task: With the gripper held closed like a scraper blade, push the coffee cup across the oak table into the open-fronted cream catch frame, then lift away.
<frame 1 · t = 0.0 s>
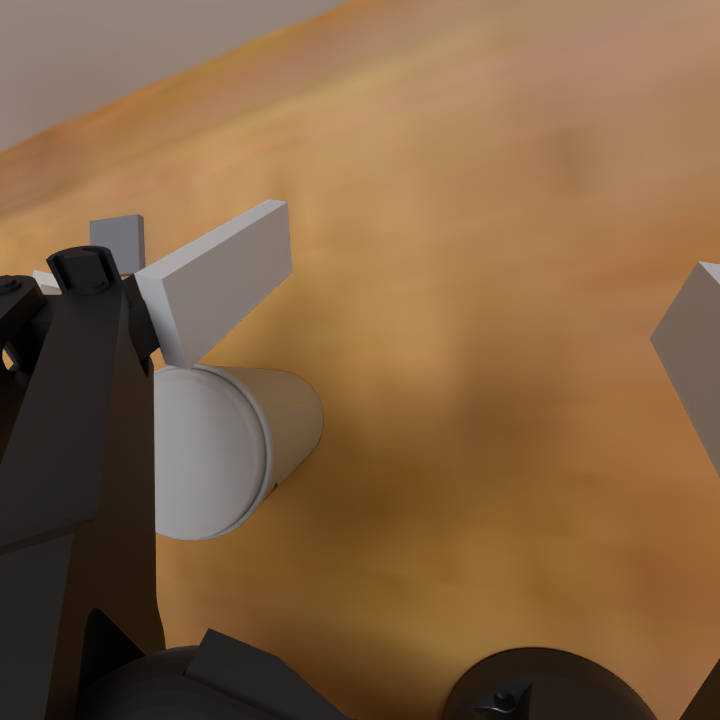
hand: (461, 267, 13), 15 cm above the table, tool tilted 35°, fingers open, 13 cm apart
slate tile: (125, 250, 35), on the table
coffee cup: (280, 417, 31), on the table
catch frame: (126, 375, 34), on the table
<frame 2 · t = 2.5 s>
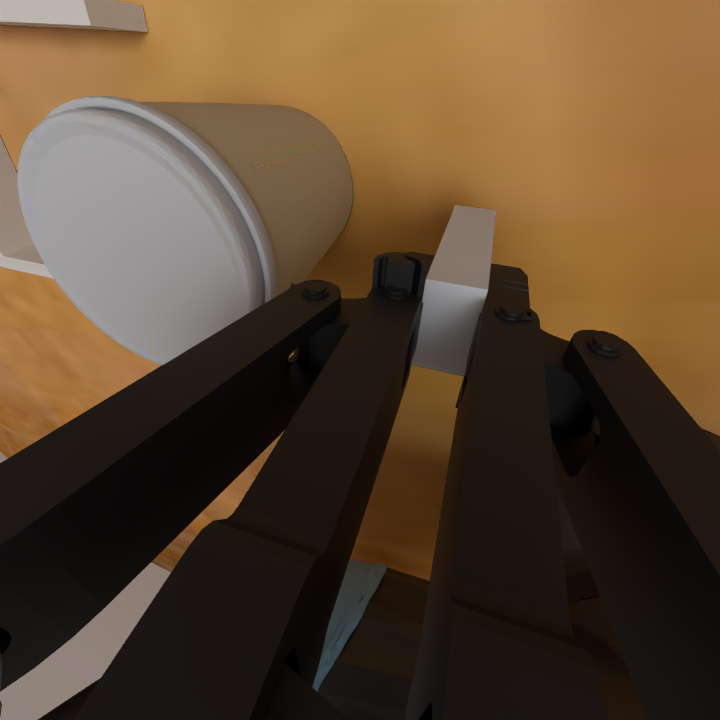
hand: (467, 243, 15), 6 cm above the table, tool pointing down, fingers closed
coffee cup: (292, 185, 22), on the table
catch frame: (80, 157, 25), on the table
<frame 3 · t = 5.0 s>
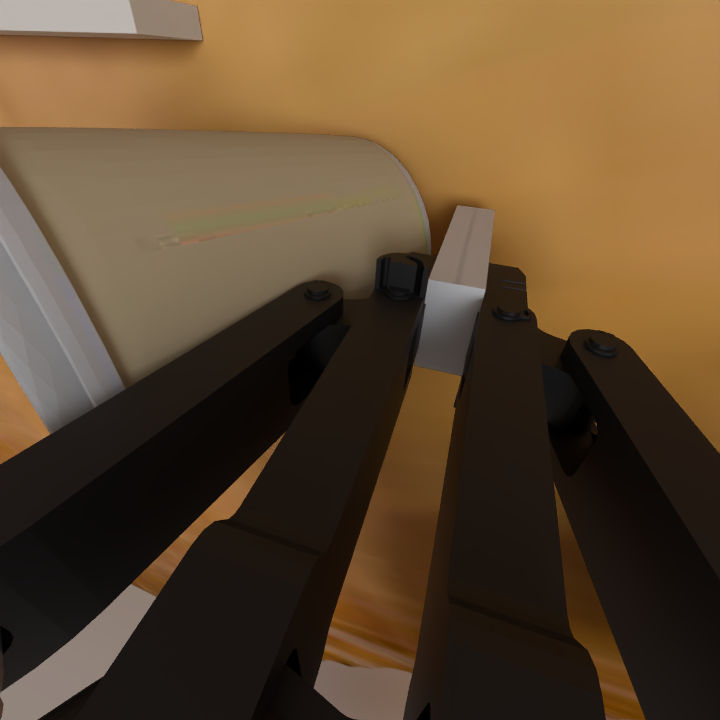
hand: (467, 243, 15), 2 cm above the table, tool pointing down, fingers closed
coffee cup: (360, 239, 16), point 1 cm above the table, touching gripper, hand
catch frame: (108, 193, 21), on the table
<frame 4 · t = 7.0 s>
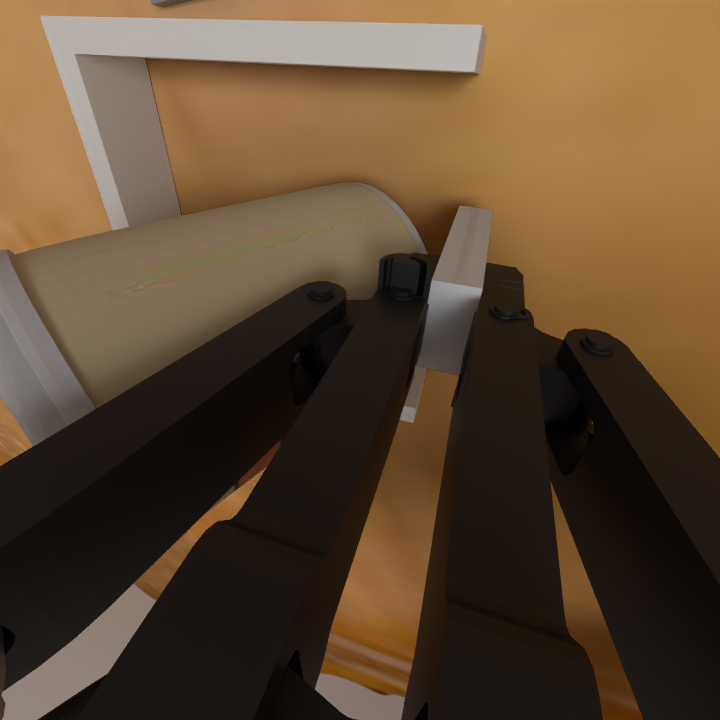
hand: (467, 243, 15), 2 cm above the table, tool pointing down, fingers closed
coffee cup: (372, 273, 17), point 2 cm above the table, touching gripper
catch frame: (294, 231, 19), on the table
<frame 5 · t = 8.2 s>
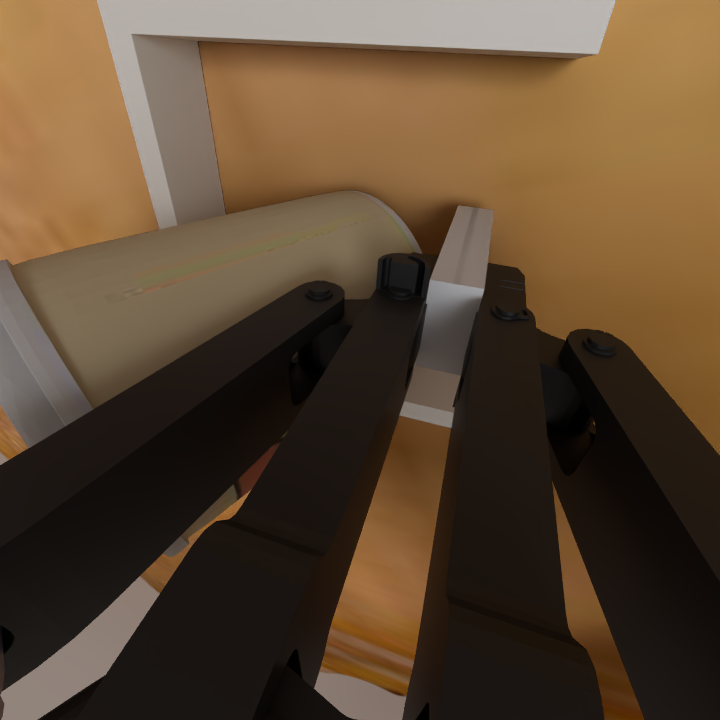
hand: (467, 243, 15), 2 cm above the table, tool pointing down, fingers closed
coffee cup: (370, 280, 17), point 2 cm above the table, touching gripper
catch frame: (349, 228, 18), on the table
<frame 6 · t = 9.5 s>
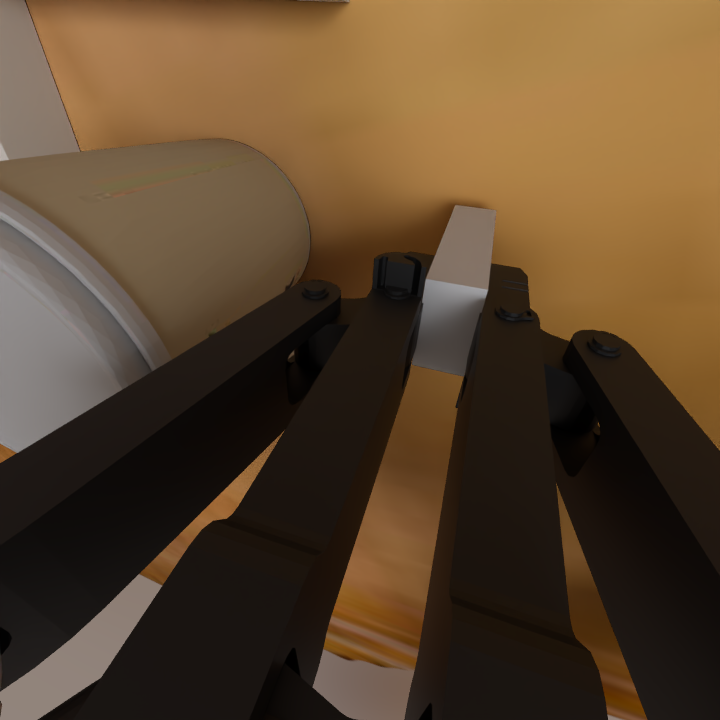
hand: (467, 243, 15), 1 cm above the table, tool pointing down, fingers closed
coffee cup: (241, 225, 19), on the table
catch frame: (196, 182, 18), on the table
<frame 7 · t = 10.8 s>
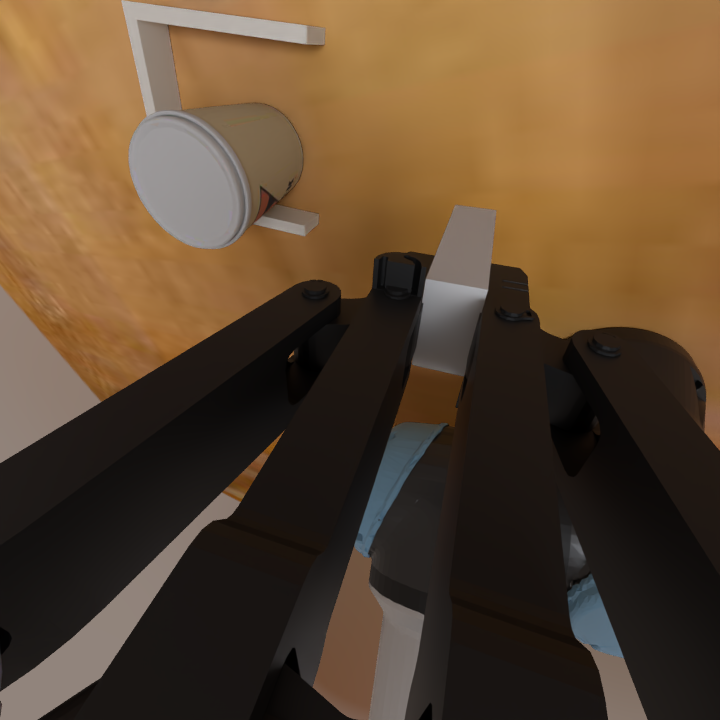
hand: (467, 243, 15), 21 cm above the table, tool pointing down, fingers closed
coffee cup: (266, 151, 36), on the table
catch frame: (244, 125, 35), on the table
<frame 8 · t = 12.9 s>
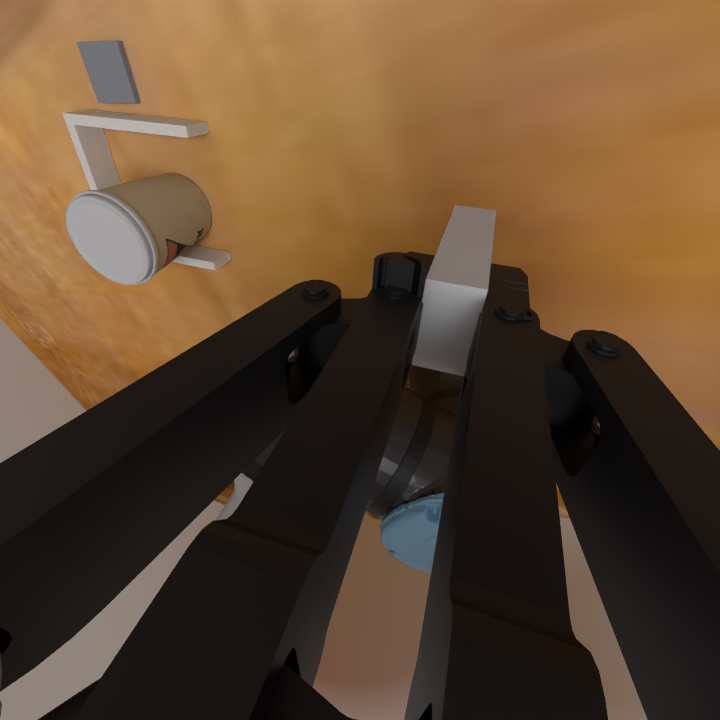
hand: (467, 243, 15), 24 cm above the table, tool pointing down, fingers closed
slate tile: (116, 73, 40), on the table
coffee cup: (184, 207, 47), on the table
catch frame: (165, 189, 46), on the table
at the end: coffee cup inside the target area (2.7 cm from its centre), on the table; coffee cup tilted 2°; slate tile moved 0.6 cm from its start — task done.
